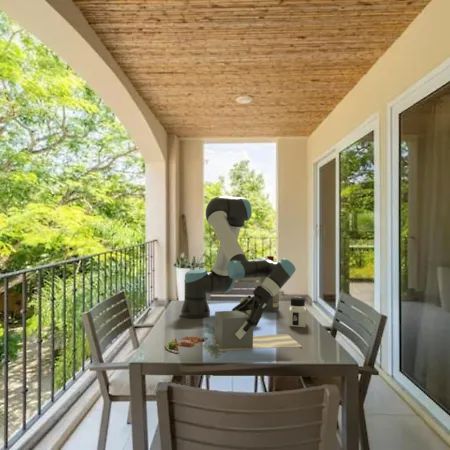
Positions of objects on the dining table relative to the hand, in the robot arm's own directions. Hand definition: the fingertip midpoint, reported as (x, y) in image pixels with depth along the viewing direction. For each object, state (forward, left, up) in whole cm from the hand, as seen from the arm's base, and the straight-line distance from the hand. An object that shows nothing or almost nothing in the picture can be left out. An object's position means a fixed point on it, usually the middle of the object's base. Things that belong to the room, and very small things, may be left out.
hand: (230, 332), depth 147 cm
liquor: (-59, +34, -6) cm, 68 cm away
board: (-1, +10, -6) cm, 12 cm away
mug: (-32, +15, -6) cm, 35 cm away
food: (-3, -16, -7) cm, 17 cm away
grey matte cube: (0, +1, -4) cm, 4 cm away
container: (-28, +38, -6) cm, 47 cm away
